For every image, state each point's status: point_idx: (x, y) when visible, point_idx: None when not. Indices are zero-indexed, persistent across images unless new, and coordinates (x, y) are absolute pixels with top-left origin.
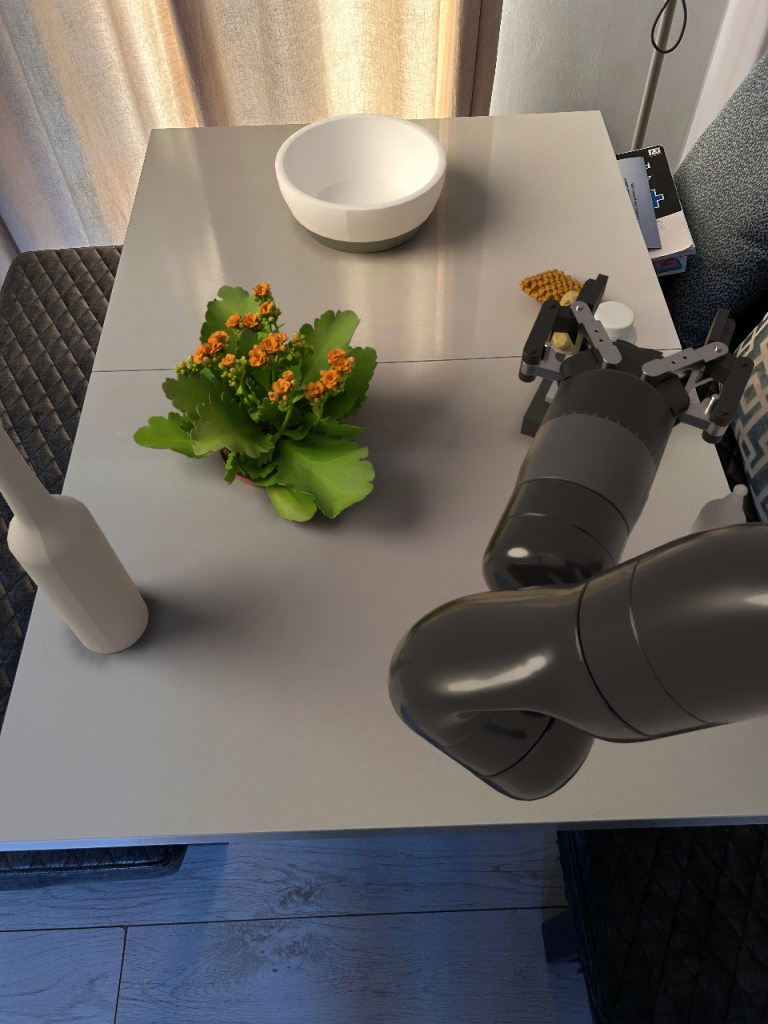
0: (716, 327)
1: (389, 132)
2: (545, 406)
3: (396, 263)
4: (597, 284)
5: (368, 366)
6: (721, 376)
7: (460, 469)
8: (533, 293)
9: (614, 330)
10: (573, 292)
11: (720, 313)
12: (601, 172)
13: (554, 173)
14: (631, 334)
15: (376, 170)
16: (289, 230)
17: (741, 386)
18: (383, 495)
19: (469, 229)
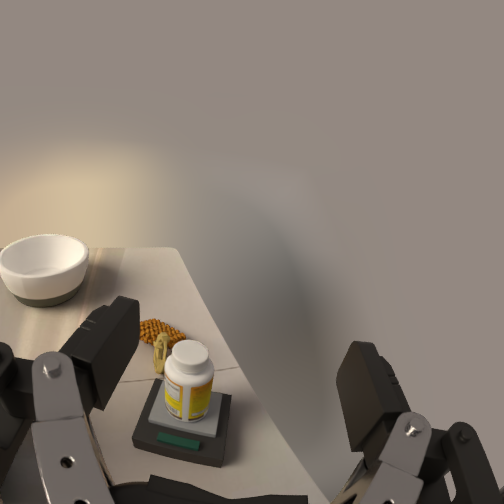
0: (378, 380)
1: (64, 243)
2: (149, 426)
3: (56, 314)
4: (110, 315)
5: None
6: (419, 472)
7: None
8: None
9: (192, 366)
10: (163, 333)
11: (365, 350)
12: (181, 268)
13: (155, 268)
14: (208, 366)
15: (58, 263)
16: (6, 292)
17: (492, 488)
18: (27, 497)
19: (103, 295)
